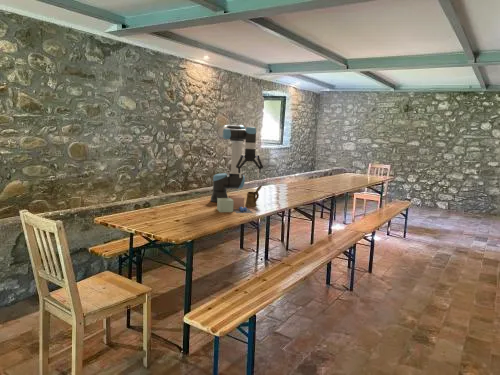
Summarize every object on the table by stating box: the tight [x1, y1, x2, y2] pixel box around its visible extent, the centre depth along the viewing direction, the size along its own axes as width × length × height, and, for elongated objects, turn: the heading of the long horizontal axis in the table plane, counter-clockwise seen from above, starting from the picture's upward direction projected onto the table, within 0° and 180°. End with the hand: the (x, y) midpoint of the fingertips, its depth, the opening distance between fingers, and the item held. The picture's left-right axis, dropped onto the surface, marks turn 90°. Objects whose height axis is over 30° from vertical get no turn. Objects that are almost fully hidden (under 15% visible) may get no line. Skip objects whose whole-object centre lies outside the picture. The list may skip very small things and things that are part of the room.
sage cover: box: [216, 198, 234, 213], centre depth 282 cm, size 10×10×9 cm
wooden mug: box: [244, 185, 262, 207], centre depth 304 cm, size 9×14×18 cm, turn 61°
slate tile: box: [233, 208, 254, 214], centre depth 283 cm, size 13×13×1 cm
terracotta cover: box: [227, 195, 245, 209], centre depth 295 cm, size 10×10×9 cm
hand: (249, 177), depth 275 cm, fingers open, 13 cm apart
